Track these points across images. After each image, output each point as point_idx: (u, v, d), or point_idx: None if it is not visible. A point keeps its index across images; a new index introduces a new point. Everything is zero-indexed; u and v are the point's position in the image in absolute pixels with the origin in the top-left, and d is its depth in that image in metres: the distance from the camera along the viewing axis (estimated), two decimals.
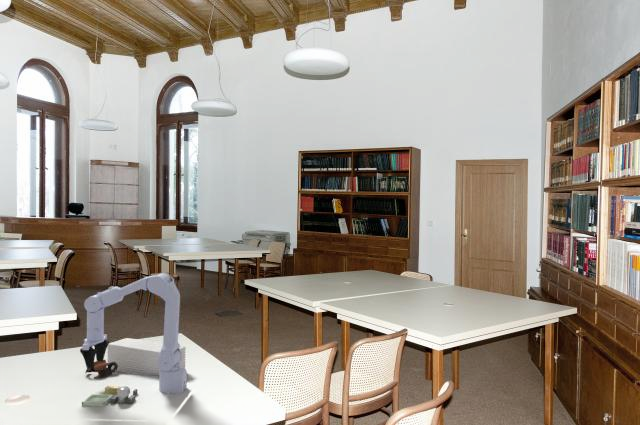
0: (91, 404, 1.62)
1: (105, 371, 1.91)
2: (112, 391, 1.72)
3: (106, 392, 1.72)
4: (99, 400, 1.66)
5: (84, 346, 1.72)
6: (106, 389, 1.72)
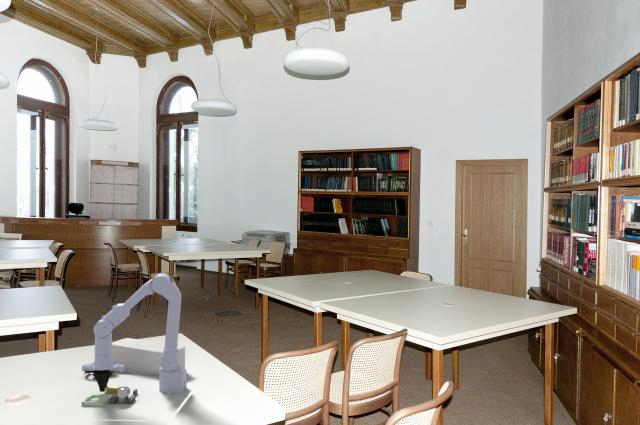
0: (91, 404, 1.62)
1: None
2: (112, 391, 1.72)
3: (106, 392, 1.72)
4: (99, 400, 1.66)
5: None
6: (106, 389, 1.72)
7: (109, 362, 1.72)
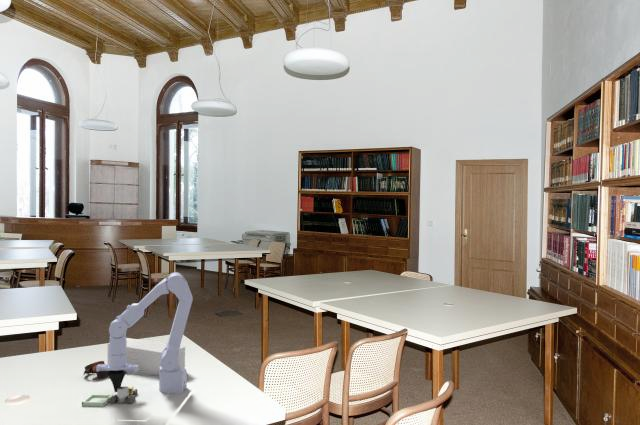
0: (91, 404, 1.62)
1: (104, 372, 1.89)
2: None
3: None
4: (99, 400, 1.66)
5: None
6: None
7: (124, 362, 1.72)
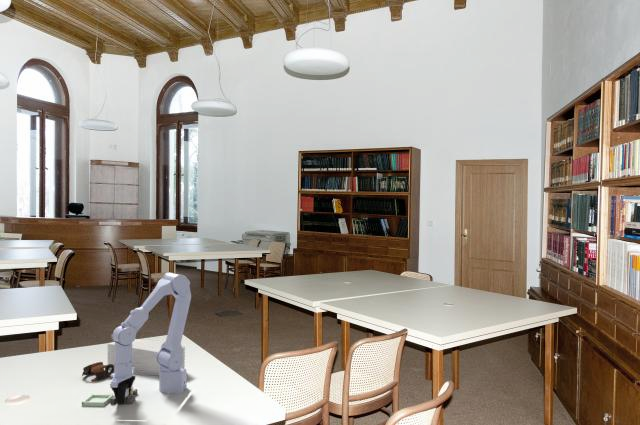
0: (91, 404, 1.62)
1: (103, 373, 1.88)
2: None
3: None
4: (99, 400, 1.66)
5: (113, 383, 1.59)
6: None
7: None
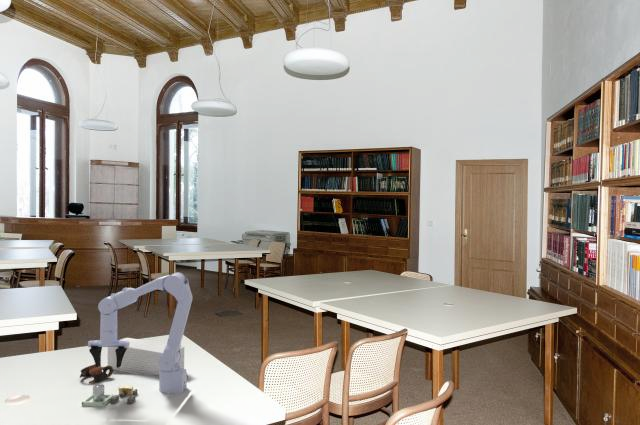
0: (91, 404, 1.62)
1: (101, 375, 1.86)
2: (126, 391, 1.72)
3: (120, 392, 1.72)
4: None
5: None
6: (120, 389, 1.72)
7: (115, 338, 1.76)
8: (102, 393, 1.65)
